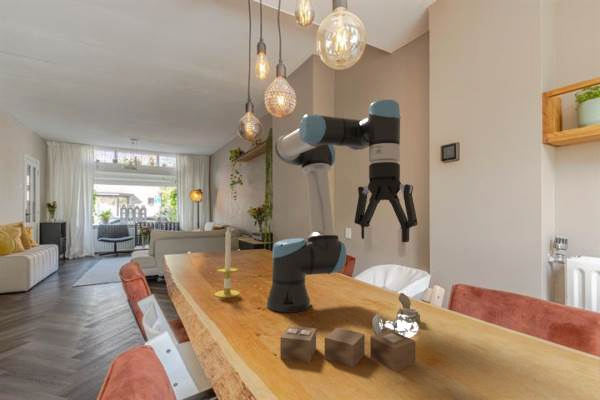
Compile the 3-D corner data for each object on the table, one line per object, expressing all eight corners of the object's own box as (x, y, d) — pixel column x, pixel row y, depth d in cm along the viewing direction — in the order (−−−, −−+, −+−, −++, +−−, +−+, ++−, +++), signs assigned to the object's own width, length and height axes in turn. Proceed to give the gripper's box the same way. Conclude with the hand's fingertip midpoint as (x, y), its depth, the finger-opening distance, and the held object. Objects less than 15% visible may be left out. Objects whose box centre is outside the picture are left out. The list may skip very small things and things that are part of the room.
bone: (418, 325, 85) (401, 291, 90) (399, 332, 89) (383, 299, 93) (428, 319, 92) (411, 288, 96) (410, 326, 95) (394, 295, 99)
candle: (236, 297, 116) (237, 227, 117) (210, 297, 116) (212, 227, 117) (242, 290, 126) (243, 226, 127) (218, 290, 126) (219, 225, 127)
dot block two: (280, 359, 69) (280, 335, 69) (288, 346, 76) (289, 324, 76) (310, 363, 68) (310, 339, 68) (316, 349, 74) (316, 327, 75)
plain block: (324, 359, 69) (324, 337, 69) (337, 347, 75) (337, 327, 75) (353, 368, 66) (353, 345, 66) (364, 355, 71) (364, 333, 72)
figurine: (372, 311, 89) (415, 308, 86) (376, 333, 88) (419, 331, 85) (368, 319, 81) (416, 317, 77) (372, 344, 80) (421, 343, 76)
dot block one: (370, 358, 70) (370, 335, 70) (391, 350, 74) (391, 328, 74) (394, 372, 64) (394, 346, 64) (415, 363, 68) (415, 339, 68)
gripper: (340, 165, 80) (340, 251, 79) (421, 156, 66) (422, 260, 66) (355, 168, 86) (355, 248, 85) (432, 161, 72) (433, 256, 71)
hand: (384, 253), depth 75 cm, fingers open, 8 cm apart
